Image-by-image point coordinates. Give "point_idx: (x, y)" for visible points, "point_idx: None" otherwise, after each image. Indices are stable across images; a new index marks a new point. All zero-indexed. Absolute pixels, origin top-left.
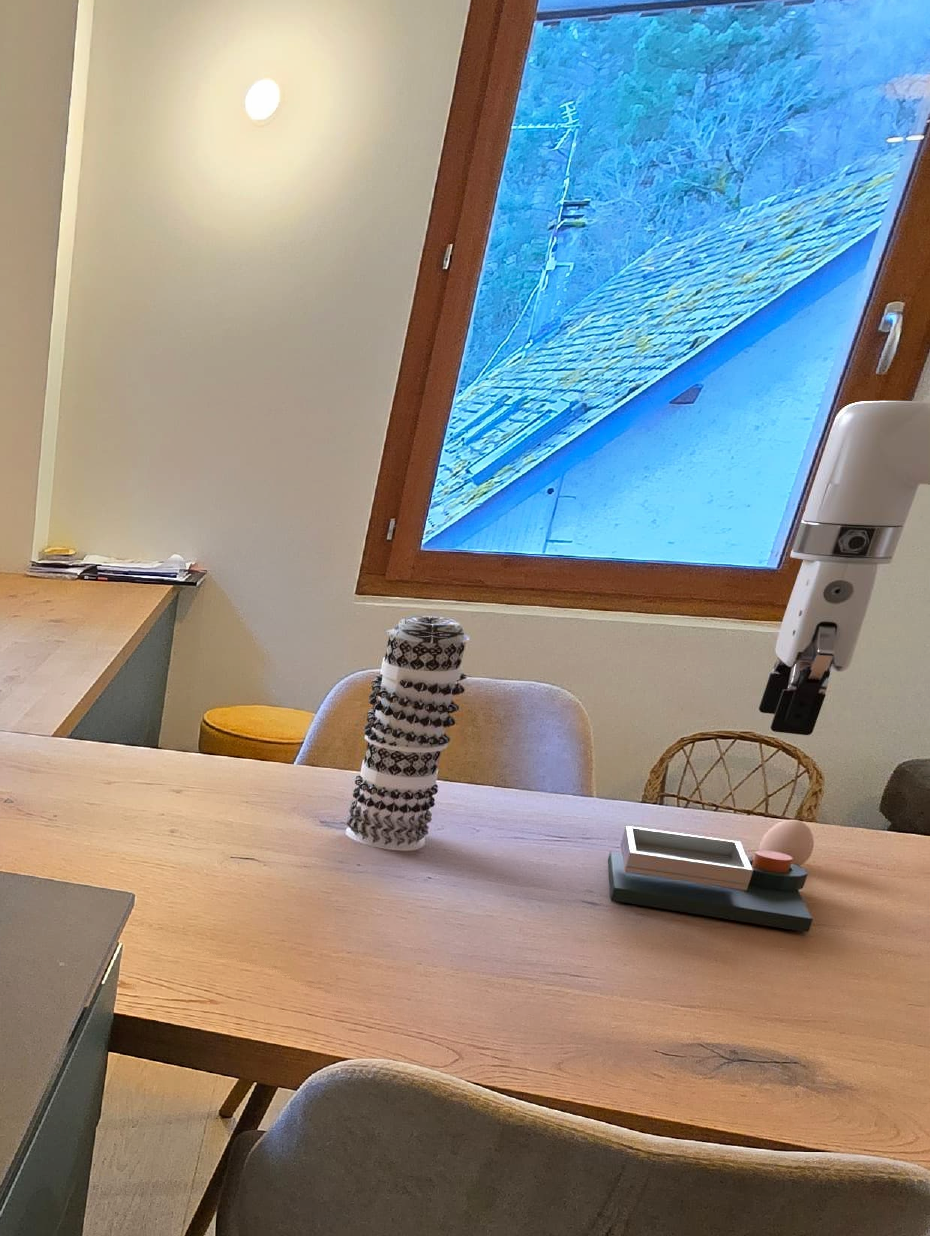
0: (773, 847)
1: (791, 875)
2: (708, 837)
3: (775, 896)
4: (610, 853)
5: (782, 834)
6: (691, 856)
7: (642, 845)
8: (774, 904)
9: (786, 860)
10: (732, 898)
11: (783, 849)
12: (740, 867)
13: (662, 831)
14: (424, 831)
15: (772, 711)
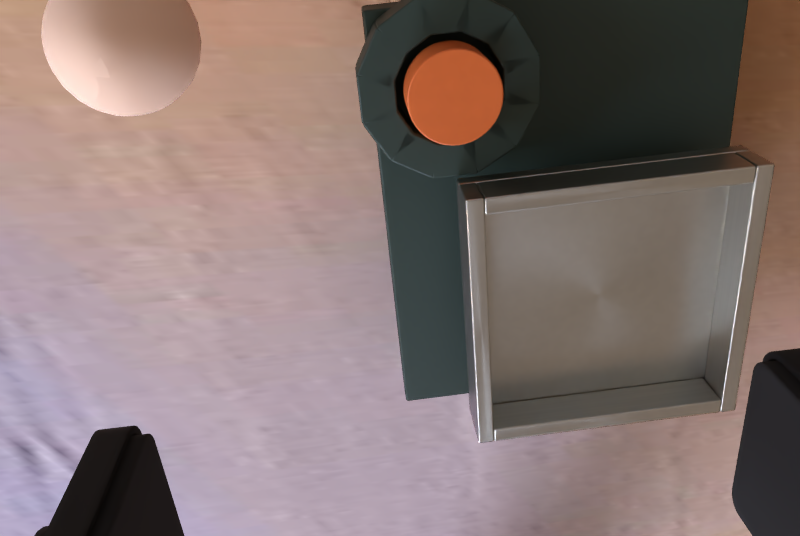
0: (191, 80)
1: (523, 36)
2: (474, 277)
3: (587, 56)
4: (422, 398)
5: (172, 77)
6: (543, 279)
7: (503, 378)
8: (664, 58)
9: (492, 65)
10: (662, 151)
11: (198, 52)
12: (761, 193)
13: (481, 373)
14: None
15: (177, 531)
